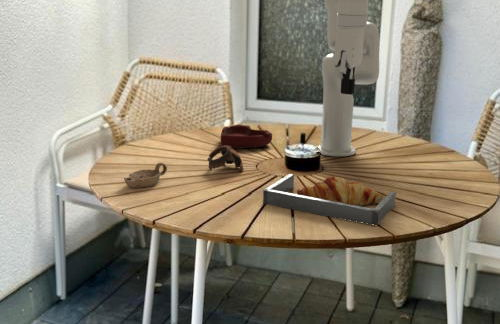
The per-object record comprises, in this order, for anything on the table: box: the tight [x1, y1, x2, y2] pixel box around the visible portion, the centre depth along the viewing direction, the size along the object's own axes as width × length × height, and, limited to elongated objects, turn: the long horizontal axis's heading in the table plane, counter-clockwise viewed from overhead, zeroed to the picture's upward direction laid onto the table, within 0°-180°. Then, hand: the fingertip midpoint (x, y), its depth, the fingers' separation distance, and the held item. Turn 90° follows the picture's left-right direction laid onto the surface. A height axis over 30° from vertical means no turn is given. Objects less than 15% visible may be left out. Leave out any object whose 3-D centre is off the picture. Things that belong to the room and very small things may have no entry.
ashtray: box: [220, 124, 273, 150], centre depth 197 cm, size 18×16×5 cm
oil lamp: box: [123, 162, 168, 189], centre depth 156 cm, size 13×8×5 cm, turn 133°
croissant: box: [296, 176, 384, 207], centre depth 145 cm, size 21×10×8 cm, turn 89°
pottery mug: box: [207, 145, 245, 173], centre depth 170 cm, size 12×10×8 cm
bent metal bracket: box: [262, 173, 397, 226], centre depth 143 cm, size 15×28×4 cm, turn 61°
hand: (347, 93), depth 154 cm, fingers closed
